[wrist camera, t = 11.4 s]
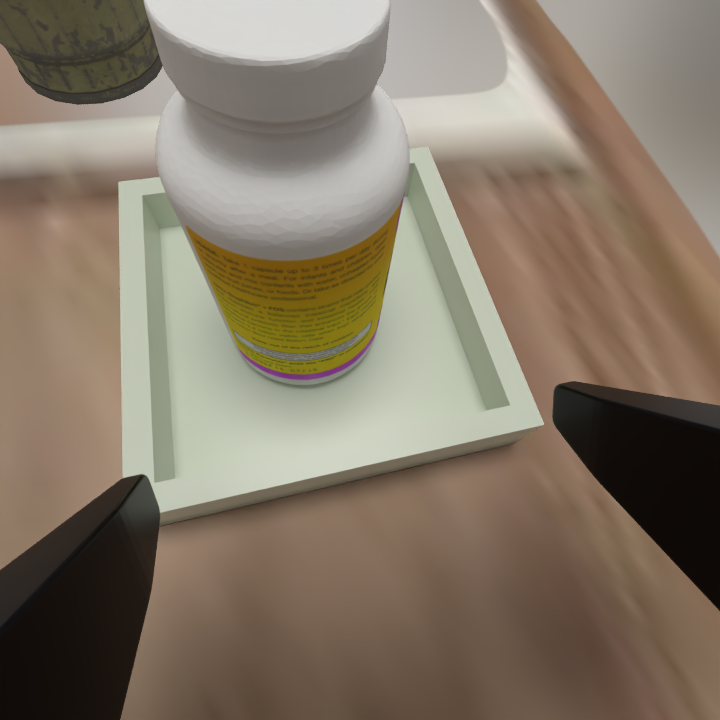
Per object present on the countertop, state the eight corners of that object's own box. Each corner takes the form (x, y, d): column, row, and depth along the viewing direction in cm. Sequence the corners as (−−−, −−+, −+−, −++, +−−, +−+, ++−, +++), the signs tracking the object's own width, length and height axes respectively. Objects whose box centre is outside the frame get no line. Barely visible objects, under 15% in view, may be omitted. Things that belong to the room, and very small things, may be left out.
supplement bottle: (400, 360, 19) (509, 59, 8) (257, 412, 18) (119, 141, 6) (345, 248, 22) (362, -112, 10) (215, 286, 20) (58, -81, 9)
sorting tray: (416, 191, 25) (427, 146, 22) (513, 443, 19) (544, 424, 16) (144, 227, 22) (118, 181, 20) (157, 526, 16) (123, 521, 14)
